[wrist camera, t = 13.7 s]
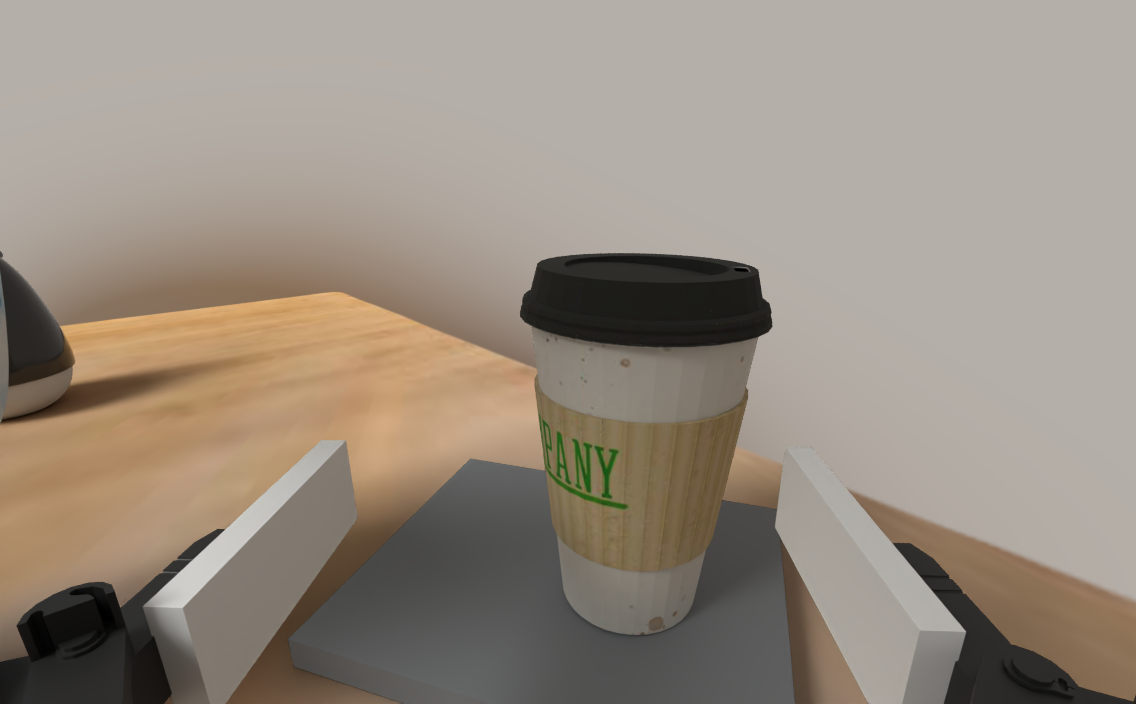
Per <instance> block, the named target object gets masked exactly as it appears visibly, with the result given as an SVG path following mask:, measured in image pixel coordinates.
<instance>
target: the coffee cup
mask: <svg viewBox="0 0 1136 704" xmlns="http://www.w3.org/2000/svg"><path fill="white" fill-rule="evenodd" d="M520 317H521V318H522V319H523V320H524V322H526V323H527V324H529V325H531V326H532V333H533V341H534V348H535V357H536V365H537V373H538V374H537V375H536V377H535V392H536V400H537V407H538V415H539V423H540V431H541V439H542V447H543V455H544V463H545V471H546V478H547V486H548V494H549V502H550V510H551V518H552V524H553V527H554V529H555V532H556V534H557V540H558V548H559V557H560V565H561V574H562V582H563V590H564V593H565V596H566V598H567V600H568V602H569V603H570V605H571V606H572V608H573V609H574V610H575V611H576V612H577V613H578V614H579V615H580V616H581V617H583V618H584V619H586V620H587V621H589V622H590V623H592V624H593V625H596V626H598V627H600V628H602V629H605V630H608V631H612V632H615V633H619V634H628V635H646V634H652V633H657V632H661V631H664V630H666V629H668V628H671V627H673V626H674V625H676V624H677V623H678V622H680V621H681V620H682V619H683V618H684V617H685V616H686V615H687V614H688V612H689V611H690V608H691V606H692V604H693V601H694V597H695V593H696V588H697V584H698V580H699V576H700V572H701V568H702V564H703V560H704V556H705V552H706V549H707V547H708V546H709V544H710V542H711V540H712V538H713V534H714V530H715V526H716V522H717V518H718V514H719V510H720V506H721V502H722V498H723V494H724V491H725V487H726V483H727V479H728V475H729V471H730V467H731V463H732V459H733V455H734V451H735V447H736V443H737V439H738V435H739V431H740V427H741V423H742V419H743V415H744V411H745V407H746V403H747V400H748V390H747V388H746V384H747V380H748V376H749V372H750V368H751V364H752V360H753V356H754V352H755V348H756V344H757V340H758V337H759V336H761V335H763V334H765V333H767V332H769V330H770V329H771V328H772V319H771V308H770V304H769V303H768V302H767V301H766V300H764V299H763V298H762V292H761V285H760V278H759V272H758V270H757V269H756V268H754V267H752V266H749V265H746V264H742V263H737V262H733V261H727V260H720V259H712V258H705V257H694V256H682V255H665V254H639V253H637V254H636V253H608V254H582V255H569V256H561V257H555V258H549V259H546V260H542V261H540V262H539V263H538V264H537V267H536V271H535V275H534V279H533V283H532V287H531V290H529V291H528V292H526V293H525V294H524V297H523V300H522V306H521V311H520Z"/></svg>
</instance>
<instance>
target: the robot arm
mask: <svg viewBox="0 0 1136 704" xmlns="http://www.w3.org/2000/svg"><path fill="white" fill-rule="evenodd" d="M8 379H9V356H8V341H7V327H6V315H5V305H4V297H3V289H2V282H1V274H0V423H1V421H2V418H3V415H4V411H5V407H6V402H7V394H8ZM357 519H358V517H357V510H356V503H355V497H354V490H353V484H352V477H351V470H350V464H349V457H348V451H347V444H346V441H342V440H321V441H320V442H319V443H318V444H317V445H316V446H315V447H314V448H313V449H311V450H310V451H309V452H308V453H307V454H306V455H305V456H304V457H303V458H302V459H301V460H300V461H299V462H297V463H296V464H295V465H294V466H293V467H292V468H291V469H290V470H289V471H288V472H287V473H286V474H285V475H283V476H282V477H281V478H280V479H279V480H278V481H277V482H276V483H275V484H274V485H273V486H272V487H271V488H270V489H268V490H267V491H266V492H265V493H264V494H263V495H262V496H261V497H260V498H259V499H258V500H257V501H256V502H254V503H253V504H252V505H251V506H250V507H249V508H248V509H247V510H246V511H245V512H244V513H243V514H242V515H241V516H239V517H238V518H237V519H236V520H235V521H234V522H233V523H232V524H231V525H230V526H229V527H228V528H227V529H217V530H215V531H214V532H212V533H210V534H208V535H207V536H205V537H203V538H201V539H200V540H198V541H196V542H195V543H193V544H192V545H191V546H190V547H189V548H188V549H187V550H186V551H184V552H183V553H182V554H181V555H180V556H179V557H178V559H177V561H173V562H172V563H171V564H170V565H169V566H168V567H166V568H165V569H164V570H163V573H162V574H159V575H158V576H156V577H155V578H154V579H153V580H152V581H151V582H150V583H149V584H147V585H146V586H145V587H144V588H143V589H142V590H141V591H140V592H138V593H137V594H136V595H135V596H134V597H133V598H132V599H131V600H129V601H128V602H127V603H126V604H125V605H124V606H123V607H122V608H120V606H119V603H118V600H117V597H116V594H115V591H114V589H113V587H112V585H111V584H108V583H105V582H92V583H85V584H81V585H78V586H74V587H70V588H68V589H66V590H63V591H61V592H58V593H56V594H53V595H52V596H50V597H48V598H47V599H45V600H43V601H41V602H40V603H38V604H36V605H35V606H34V607H33V608H32V609H30V610H29V611H28V612H27V613H26V614H24V615H23V617H22V618H21V620H20V621H19V623H18V624H17V628H18V630H19V633H20V635H21V638H22V640H23V643H24V645H25V648H26V650H27V652H28V655H29V656H26V657H22V658H17V659H12V660H7V661H3V662H0V704H164V703H165V701H166V700H167V699H168V698H169V697H170V695H171V699H172V702H173V704H226V703H227V701H228V700H229V698H230V697H231V695H232V694H233V693H234V691H235V690H236V688H237V687H238V686H239V684H240V683H241V681H242V680H243V679H244V677H245V676H246V674H247V673H248V672H249V670H250V669H251V667H252V666H253V665H254V663H255V662H256V660H257V659H258V658H259V656H260V655H261V653H262V652H263V651H264V649H265V648H266V646H267V645H268V644H269V642H270V641H271V639H272V638H273V637H274V635H275V634H276V632H277V631H278V630H279V628H280V627H281V625H282V624H283V622H284V621H285V620H286V618H287V617H288V615H289V614H290V613H291V611H292V610H293V608H294V607H295V606H296V604H297V603H298V601H299V600H300V599H301V597H302V596H303V594H304V593H305V592H306V590H307V589H308V587H309V586H310V585H311V583H312V582H313V580H314V579H315V578H316V576H317V575H318V573H319V572H320V571H321V569H322V568H323V566H324V565H325V564H326V562H327V561H328V559H329V558H330V557H331V555H332V554H333V552H334V551H335V549H336V548H337V547H338V545H339V544H340V542H341V541H342V540H343V538H344V537H345V535H346V534H347V533H348V531H349V530H350V528H351V527H352V526H353V524H354V523H355V521H356V520H357ZM775 528H776V530H777V532H778V534H779V536H780V538H781V540H782V542H783V543H784V545H785V547H786V549H787V551H788V553H789V555H790V557H791V559H792V560H793V562H794V564H795V566H796V568H797V570H798V572H799V574H800V576H801V577H802V579H803V581H804V583H805V585H806V587H807V589H808V591H809V593H810V594H811V596H812V598H813V600H814V602H815V604H816V606H817V608H818V610H819V611H820V613H821V615H822V617H823V619H824V621H825V623H826V625H827V627H828V628H829V630H830V632H831V634H832V636H833V638H834V640H835V642H836V644H837V645H838V647H839V649H840V651H841V653H842V655H843V657H844V659H845V660H846V662H847V664H848V666H849V668H850V670H851V672H852V674H853V676H854V677H855V679H856V681H857V683H858V685H859V687H860V689H861V691H862V693H863V694H864V696H865V698H866V700H867V702H868V704H1136V696H1135V699H1134V701H1129V700H1125V699H1121V698H1118V697H1114V696H1110V695H1107V694H1103V693H1099V692H1095V691H1092V690H1088V689H1084V688H1081V687H1079V686H1078V685H1077V684H1076V683H1075V682H1074V680H1073V679H1072V678H1071V677H1070V676H1069V675H1068V674H1067V673H1066V672H1065V671H1063V670H1062V669H1061V668H1060V667H1058V666H1057V665H1056V664H1054V663H1053V662H1052V661H1050V660H1048V659H1046V658H1044V657H1043V656H1041V655H1039V654H1037V653H1035V652H1033V651H1030V650H1027V649H1024V648H1021V647H1018V646H1016V645H1011V644H1010V642H1009V641H1008V640H1007V639H1006V638H1005V637H1004V636H1003V635H1002V634H1001V633H1000V631H999V630H998V629H997V628H996V627H995V626H994V625H993V624H992V623H991V622H990V620H989V619H988V618H987V617H986V616H985V615H984V614H983V613H982V612H981V611H980V610H979V608H978V607H977V606H976V605H975V604H974V603H973V602H972V601H971V600H970V599H969V597H968V596H967V595H966V594H963V593H962V590H961V589H960V588H959V586H958V585H957V584H956V583H955V582H954V581H953V580H952V579H949V575H948V574H947V573H946V572H945V571H944V570H943V569H942V568H941V567H940V566H939V564H938V563H937V562H936V561H935V560H934V559H933V558H932V557H930V556H929V555H927V554H926V553H924V552H923V551H921V550H920V549H918V548H917V547H915V546H914V545H912V544H911V543H892V542H891V541H890V540H889V539H888V538H887V536H886V535H885V534H884V533H883V532H882V530H881V529H880V528H879V527H878V526H877V524H876V523H875V522H874V521H873V520H872V518H871V517H870V516H869V515H868V514H867V512H866V511H865V510H864V509H863V508H862V506H861V505H860V504H859V503H858V502H857V500H856V499H855V498H854V497H853V496H852V494H851V493H850V492H849V491H848V490H847V488H846V487H845V486H844V485H843V484H842V482H841V481H840V480H839V479H838V478H837V477H836V476H835V474H834V473H833V472H832V471H831V469H830V468H829V467H828V466H827V465H826V463H825V462H824V461H823V460H822V459H821V457H820V456H819V455H818V454H817V453H816V452H815V450H814V449H813V448H812V447H785V453H784V461H783V468H782V476H781V484H780V492H779V499H778V507H777V515H776V523H775Z"/></svg>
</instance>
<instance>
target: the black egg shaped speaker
mask: <svg viewBox="0 0 1136 704" xmlns="http://www.w3.org/2000/svg"><path fill="white" fill-rule="evenodd" d="M2 257H3V254H2V252H0V274H1V282H2V289H3V297H4V305H5V315H6V327H7V341H8V356H9V379H8V394H7V402H6V407H5V411H4V415H3V418H2V420H3V419H9V418H14V417H18V416H22V415H26V414H29V413H33V412H36V411H38V410H41V409H43V408H45V407H47V406H49V405H50V404H52V403H54V402H55V401H57V400H58V399H59V398H60V397H61V396H62V395H63V394H64V393H65V392H66V390H67V389H68V387H69V385H70V383H71V379H72V371H73V369H72V366H73V365H74V364H75V357H74V354H73V351H72V349H71V347H70V345H69V343H68V341H67V339H66V337H65V335H64V333H63V331H62V330H61V328H60V326H59V324H58V323H57V321H56V320H55V318H54V316H53V315H52V313H51V312H50V311H49V309H48V307H47V306H46V305H45V303H44V302H43V301H42V299H41V298H40V297H39V295H38V294H37V293H36V291H35V290H34V289H33V288H32V287H31V285H30V284H29V283H28V282H27V281H26V280H25V279H24V278H23V276H22V275H21V274H20V273H19V272H18V271H16V270H15V269H14V268H13V267H12V266H11V265H10V264H8V263H7V262H6V261H4V260H3V259H2Z"/></svg>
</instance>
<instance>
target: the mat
mask: <svg viewBox="0 0 1136 704" xmlns="http://www.w3.org/2000/svg"><path fill="white" fill-rule="evenodd" d="M776 515H777V509H772V508H766V507H760V506H754V505H748V504H742V503H736V502H730V501H724V500H722V502H721V506H720V510H719V514H718V518H717V522H716V526H715V530H714V534H713V538H712V540H711V542H710V544H709V546H708V547H707V549H706V552H705V556H704V560H703V564H702V568H701V572H700V576H699V580H698V584H697V588H696V593H695V597H694V601H693V604H692V606H691V608H690V611H689V612H688V614H687V615H686V616H685V617H684V618H683V619H682V620H681V621H680V622H678V623H677V624H676V625H674V626H673V627H671V628H668V629H666V630H664V631H661V632H657V633H652V634H646V635H628V634H619V633H615V632H612V631H608V630H605V629H602V628H600V627H598V626H596V625H593V624H592V623H590V622H589V621H587V620H586V619H584V618H583V617H581V616H580V615H579V614H578V613H577V612H576V611H575V610H574V609H573V608H572V606H571V605H570V603H569V602H568V600H567V598H566V596H565V593H564V590H563V582H562V574H561V565H560V557H559V548H558V540H557V534H556V532H555V529H554V527H553V524H552V518H551V510H550V502H549V494H548V486H547V478H546V471H542V470H536V469H530V468H524V467H518V466H512V465H506V464H500V463H494V462H488V461H482V460H476V459H470V460H469V461H468V462H467V463H466V464H465V465H464V466H463V467H462V468H461V469H460V470H459V471H458V472H457V473H456V474H455V475H454V476H453V477H452V478H450V479H449V480H448V481H447V482H446V483H445V484H444V485H443V486H442V487H441V488H440V489H439V490H438V491H437V492H436V493H435V494H434V495H433V496H432V497H431V498H430V499H429V500H428V501H427V502H426V503H425V504H424V505H423V506H422V507H421V508H420V509H419V510H418V511H417V512H416V513H415V514H414V515H413V516H412V517H411V518H410V519H409V520H408V521H407V522H406V523H405V524H404V525H403V526H402V527H401V528H400V529H399V530H398V531H397V532H396V533H395V534H394V535H393V536H392V537H391V538H390V539H389V540H388V541H387V542H386V543H385V544H384V545H383V546H382V547H381V548H380V549H379V550H378V551H377V552H376V553H375V554H373V555H372V556H371V557H370V558H369V559H368V560H367V561H366V562H365V563H364V564H363V565H362V566H361V567H360V568H359V569H358V570H357V571H356V572H355V573H354V574H353V575H352V576H351V577H350V578H349V579H348V580H347V581H346V582H345V583H344V584H343V585H342V586H341V587H340V588H339V589H338V590H337V591H336V592H335V593H334V594H333V595H332V596H331V597H330V598H329V599H328V600H327V601H326V602H325V603H324V604H323V605H322V606H321V607H320V608H319V609H318V610H317V611H316V612H315V613H314V614H313V615H312V616H311V617H310V618H309V619H308V620H307V621H306V622H305V623H304V624H303V625H302V626H301V627H300V628H299V629H298V630H296V631H295V632H294V633H293V634H292V635H291V636H290V637H289V638H288V643H289V647H290V652H291V657H292V661H293V666H294V667H296V668H299V669H302V670H305V671H308V672H311V673H314V674H317V675H320V676H323V677H326V678H329V679H332V680H335V681H338V682H341V683H344V684H347V685H350V686H352V687H355V688H358V689H361V690H364V691H367V692H370V693H373V694H376V695H379V696H382V697H385V698H388V699H391V700H394V701H397V702H400V703H403V704H795V698H794V687H793V675H792V664H791V653H790V642H789V631H788V620H787V609H786V597H785V586H784V575H783V564H782V553H781V542H780V536H779V534H778V532H777V530H776V528H775V523H776Z"/></svg>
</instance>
